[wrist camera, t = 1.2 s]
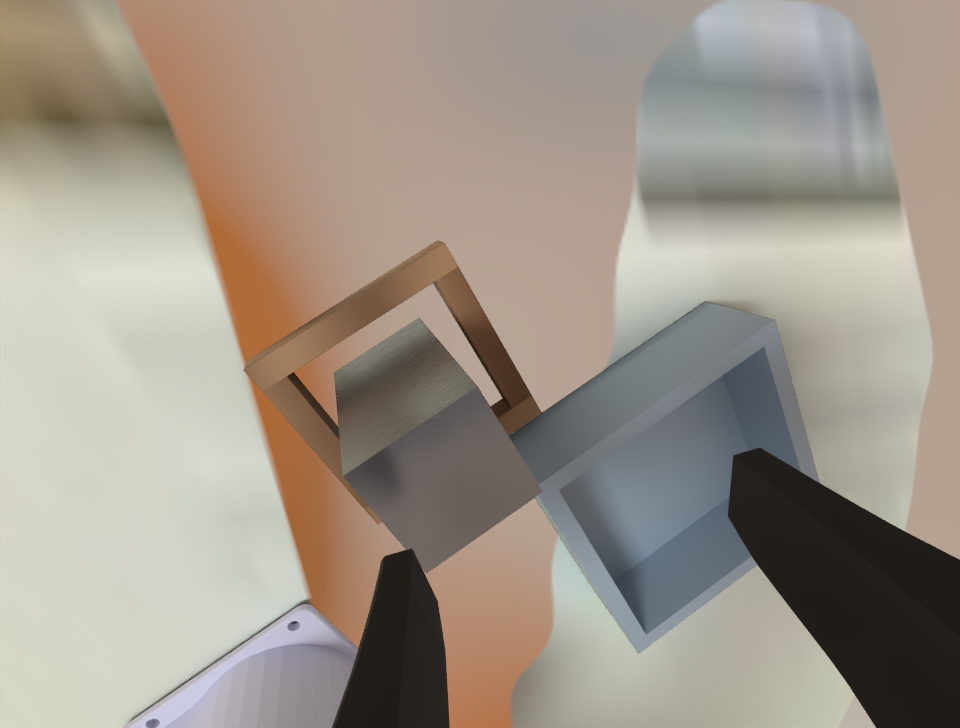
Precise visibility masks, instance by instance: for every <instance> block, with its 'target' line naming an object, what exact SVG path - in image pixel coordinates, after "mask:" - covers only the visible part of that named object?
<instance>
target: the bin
mask: <svg viewBox="0 0 960 728" xmlns="http://www.w3.org/2000/svg"><path fill="white" fill-rule="evenodd" d="M509 438H510V439H511V441H512V443H513V444H514V446H515V447H516V449H517V451H518V452H519V454H520V455H521V457H522V459H523V460H524V462H525V463H526V465H527V467H528V468H529V470H530V471H531V473H532V475H533V476H534V478H535V479H536V481H537V483H538V484H539V486H540V487H541V489H542V491H543V492H542V493H541V494H539V495H538V496H536V497H535V499H536V500H537V502H538V503H539V505H540V507H541V508H542V510H543V511H544V513H545V514H546V516H547V517H548V519H549V520H550V522H551V524H552V525H553V527H554V529H555V530H556V532H557V533H558V535H559V536H560V538H561V539H562V541H563V543H564V544H565V546H566V547H567V549H568V550H569V552H570V553H571V555H572V557H573V558H574V560H575V561H576V563H577V564H578V566H579V568H580V569H581V571H582V572H583V574H584V575H585V577H586V578H587V580H588V582H589V583H590V585H591V586H592V588H593V589H594V591H595V593H596V594H597V595H598V597H599V598H600V600H601V601H602V603H603V604H604V605H605V607H606V608H607V610H608V611H609V613H610V614H611V615H612V617H613V618H614V620H615V621H616V623H617V624H618V625H619V627H620V628H621V630H622V631H623V633H624V634H625V635H626V637H627V638H628V640H629V641H630V643H631V644H632V645H633V647H634V648H635V650H636V651H637V652H638V654H639V653H640V652H642V651H643V650H644V649H646V648H647V647H648V646H650V645H651V644H652V643H654V642H655V641H656V640H658V639H659V638H660V637H662V636H663V635H664V634H666V633H667V632H668V631H670V630H671V629H672V628H674V627H675V626H676V625H678V624H679V623H680V622H682V621H683V620H684V619H686V618H687V617H688V616H690V615H691V614H692V613H694V612H695V611H696V610H698V609H699V608H700V607H702V606H703V605H704V604H706V603H707V602H708V601H710V600H711V599H712V598H714V597H715V596H716V595H718V594H719V593H720V592H722V591H723V590H724V589H726V588H727V587H728V586H730V585H731V584H732V583H734V582H735V581H736V580H738V579H739V578H740V577H742V576H743V575H744V574H746V573H747V572H748V571H750V570H751V569H752V568H754V567H755V566H756V565H757V563H756V562H755V561H754V559H753V558H752V556H751V554H750V553H749V551H748V550H747V548H746V546H745V545H744V543H743V541H742V540H741V538H740V536H739V535H738V533H737V531H736V530H735V528H734V526H733V525H732V523H731V521H730V519H729V518H728V506H729V496H730V485H731V475H732V464H733V455H736V454H739V453H743V452H746V451H749V450H753V449H756V448H762V449H764V450H765V451H767V452H769V453H770V454H772V455H774V456H775V457H777V458H779V459H780V460H782V461H784V462H785V463H787V464H789V465H790V466H792V467H794V468H795V469H797V470H799V471H800V472H802V473H804V474H805V475H807V476H809V477H810V478H812V479H814V480H815V481H817V482H819V479H818V475H817V472H816V468H815V464H814V461H813V457H812V453H811V450H810V446H809V442H808V439H807V435H806V431H805V428H804V424H803V420H802V417H801V413H800V409H799V406H798V402H797V399H796V395H795V391H794V388H793V384H792V380H791V377H790V373H789V369H788V366H787V362H786V358H785V355H784V351H783V347H782V344H781V340H780V336H779V333H778V329H777V325H776V322H775V320H774V319H770V318H766V317H762V316H758V315H755V314H751V313H747V312H743V311H739V310H736V309H732V308H728V307H724V306H721V305H717V304H713V303H709V302H704V303H702V304H701V305H699V306H698V307H696V308H695V309H693V310H692V311H690V312H689V313H688V314H686V315H685V316H683V317H682V318H680V319H679V320H677V321H676V322H674V323H673V324H671V325H670V326H668V327H667V328H666V329H664V330H663V331H661V332H660V333H658V334H657V335H655V336H654V337H652V338H651V339H649V340H648V341H646V342H645V343H644V344H642V345H641V346H639V347H638V348H636V349H635V350H633V351H632V352H630V353H629V354H627V355H626V356H625V357H623V358H622V359H620V360H619V361H617V362H616V363H614V364H613V365H611V366H610V367H608V368H607V369H605V370H604V371H603V372H601V373H600V374H598V375H597V376H595V377H594V378H592V379H591V380H589V381H588V382H586V383H585V384H583V385H582V386H581V387H579V388H578V389H576V390H575V391H573V392H572V393H570V394H569V395H567V396H566V397H564V398H563V399H562V400H560V401H559V402H557V403H556V404H554V405H553V406H552V407H550V408H548V409H547V410H545V411H544V412H542V413H541V414H540V415H538V416H537V417H535V418H534V419H532V420H531V421H529V422H528V423H526V424H525V425H523V426H522V427H520V428H519V429H518V430H516V431H515V432H513V433H512V434H510V435H509Z"/></svg>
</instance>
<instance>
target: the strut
mask: <svg viewBox="0 0 960 728" xmlns="http://www.w3.org/2000/svg"><path fill="white" fill-rule="evenodd" d="M334 377H335V389H336V399H337V400H336V401H337V412H338V425H339V437H340V448H341V460H342V472H343V477H344V478H345V479H346V480H347V482H348V483H349V484H350V485H351V486H352V487H353V488H354V490H355V491H356V492H357V493H358V494H359V495H360V497H361V498H362V499H363V500H364V501H365V502H366V504H367V505H368V506H369V507H370V508H371V509H372V511H373V512H374V513H375V514H376V515H377V516H378V517H379V519H380V520H381V521H382V522H383V523H384V524H385V526H387V528H388V529H389V530H390V531H391V532H392V534H393V535H394V536H395V537H396V538H397V539H398V541H399V542H400V543H401V544H402V545H403V546H404V548H405V549H406V550H408V549H411V548H412V549H413V551H414V553H415V555H416V557H417V559H418V561H419V563H420V565H421V567H422V569H423V570H424V571H425V572H426V573H428V572H429V571H431V570H432V569H433V568H435V567H436V566H438V565H439V564H440V563H442V562H443V561H445V560H446V559H447V558H449V557H451V556H452V555H453V554H455V553H456V552H458V551H459V550H460V549H462V548H463V547H465V546H466V545H468V544H469V543H470V542H472V541H473V540H475V539H476V538H478V537H479V536H480V535H482V534H483V533H485V532H486V531H488V530H489V529H490V528H492V527H493V526H495V525H496V524H498V523H499V522H501V521H502V520H503V519H505V518H506V517H508V516H509V515H511V514H512V513H513V512H515V511H516V510H518V509H519V508H521V507H522V506H523V505H525V504H526V503H528V502H529V501H531V500H532V499H533V498H535V497H536V496H538V495H539V494H541V493H542V492H543V491H542V489H541V487H540V486H539V484H538V483H537V481H536V479H535V478H534V476H533V475H532V473H531V471H530V470H529V468H528V467H527V465H526V463H525V462H524V460H523V459H522V457H521V455H520V454H519V452H518V451H517V449H516V447H515V446H514V444H513V443H512V441H511V439H510V438H509V436H508V435H507V433H506V431H505V430H504V428H503V427H502V425H501V423H500V422H499V420H498V419H497V417H496V415H495V414H494V412H493V411H492V409H491V407H490V406H489V404H488V403H487V401H486V399H485V398H484V396H483V395H482V393H481V391H480V390H479V388H478V387H477V386H476V384H475V383H474V382H473V381H472V380H471V378H470V377H469V376H468V375H467V374H466V372H465V371H464V370H463V369H462V368H461V367H460V365H459V364H458V363H457V362H456V361H455V359H454V358H453V357H452V356H451V355H450V353H449V352H448V351H447V350H446V349H445V348H444V346H443V345H442V344H441V343H440V342H439V340H438V339H437V338H436V337H435V336H434V335H433V333H432V332H431V331H430V330H429V329H428V327H427V326H426V325H425V324H424V323H423V321H422V320H421V319H420V318H418V319H416V320H415V321H413V322H412V323H410V324H409V325H407V326H406V327H404V328H402V329H401V330H399V331H398V332H396V333H395V334H393V335H392V336H390V337H389V338H387V339H385V340H384V341H382V342H381V343H379V344H378V345H376V346H375V347H373V348H371V349H370V350H368V351H367V352H365V353H364V354H362V355H361V356H359V357H358V358H356V359H354V360H353V361H351V362H350V363H348V364H347V365H345V366H344V367H342V368H341V369H339V370H337V371H336V372H334Z"/></svg>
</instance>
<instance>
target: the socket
mask: <svg viewBox="0 0 960 728" xmlns="http://www.w3.org/2000/svg"><path fill="white" fill-rule="evenodd" d="M432 283H433V284H434V285H435V287H436V288H437V290H438V292H439V293H440V295H441V297H442V298H443V300H444V302H445V303H446V305H447V307H448V308H449V310H450V311H451V313H452V315H453V317H454V318H455V320H456V322H457V323H458V325H459V327H460V328H461V330H462V331H463V333H464V335H465V336H466V338H467V340H468V341H469V343H470V345H471V346H472V348H473V350H474V351H475V353H476V355H477V356H478V358H479V359H480V361H481V363H482V365H483V366H484V368H485V369H486V371H487V373H488V374H489V376H490V377H491V379H492V381H493V383H494V384H495V386H496V388H497V389H498V391H499V393H500V394H501V396H502V398H503V399H501V400H500V401H498V402H497V403H495V404H494V405H492V406H491V409H492V411H493V412H494V414H495V415H496V417H497V419H498V420H499V422H500V423H501V425H502V427H503V428H504V430H505V431H506V433H507V435H510V434H511V433H513V432H514V431H516V430H517V429H519V428H520V427H522V426H523V425H525V424H526V423H527V422H529V421H530V420H532V419H533V418H535V417H536V416H538V415H539V414H541V411H540V409H539V407H538V406H537V404H536V402H535V400H534V399H533V397H532V395H531V393H530V392H529V390H528V388H527V386H526V385H525V383H524V381H523V379H522V378H521V376H520V374H519V372H518V371H517V369H516V367H515V365H514V364H513V362H512V360H511V358H510V357H509V355H508V353H507V351H506V349H505V348H504V346H503V344H502V342H501V341H500V339H499V337H498V335H497V334H496V332H495V330H494V328H493V327H492V325H491V323H490V322H489V320H488V318H487V316H486V314H485V313H484V311H483V309H482V307H481V306H480V304H479V302H478V301H477V299H476V297H475V295H474V293H473V292H472V290H471V288H470V287H469V285H468V283H467V281H466V279H465V278H464V276H463V274H462V272H461V271H460V269H459V267H458V265H457V264H456V262H455V260H454V258H453V257H452V255H451V253H450V251H449V250H448V248H447V246H446V244H445V243H443V242H440V241H436V242H434V243H433V244H431V245H430V246H428V247H426V248H425V249H423V250H422V251H420V252H419V253H417V254H415V255H414V256H412V257H411V258H409V259H408V260H406V261H404V262H403V263H401V264H400V265H398V266H396V267H395V268H393V269H392V270H390V271H388V272H387V273H385V274H384V275H382V276H380V277H379V278H377V279H376V280H374V281H373V282H371V283H369V284H368V285H366V286H365V287H363V288H362V289H360V290H358V291H357V292H355V293H354V294H352V295H350V296H349V297H347V298H346V299H344V300H343V301H341V302H339V303H338V304H336V305H335V306H333V307H332V308H330V309H328V310H327V311H325V312H324V313H322V314H320V315H319V316H317V317H316V318H314V319H312V320H311V321H309V322H308V323H306V324H305V325H303V326H301V327H300V328H298V329H297V330H295V331H293V332H292V333H290V334H289V335H287V336H285V337H284V338H282V339H281V340H279V341H277V342H276V343H274V344H273V345H271V346H270V347H268V348H266V349H265V350H263V351H262V352H260V353H258V354H257V355H255V356H254V357H252V358H251V359H249V360H248V362H247V364H246V366H245V368H244V371H245V372H246V374H247V375H248V376H249V377H250V378H251V379H252V380H253V382H254V383H255V384H256V385H257V386H258V387H259V388H260V390H261V391H262V392H263V393H264V394H265V395H266V397H267V398H268V399H269V400H270V401H271V402H272V403H273V404H274V406H275V407H276V408H277V409H278V410H279V411H280V413H281V414H282V415H283V416H284V417H285V418H286V420H287V421H288V422H289V423H290V424H291V425H292V426H293V428H294V429H295V430H296V431H297V432H298V433H299V434H300V436H301V437H302V438H303V439H304V440H305V441H306V443H307V444H308V445H309V446H310V447H311V448H312V449H313V450H314V452H315V453H316V454H317V455H318V456H319V457H320V459H321V460H322V461H323V462H324V463H325V464H326V465H327V467H328V468H329V469H330V470H331V471H332V472H333V474H334V475H335V476H336V477H337V478H338V479H339V480H340V482H341V483H342V484H343V485H344V486H345V487H346V488H347V490H348V491H349V492H350V493H351V494H352V495H353V496H354V498H355V499H356V500H357V501H358V502H359V503H360V505H361V506H362V507H363V508H364V509H365V510H366V511H367V512H368V514H369V515H370V516H371V517H372V518H373V519H374V520H375V522H376V523H377V524H379V523H381V522H382V521H381V520H380V519H379V517H378V516H377V515H376V514H375V513H374V512H373V511H372V509H371V508H370V507H369V506H368V505H367V504H366V502H365V501H364V500H363V499H362V498H361V497H360V495H359V494H358V493H357V492H356V491H355V490H354V488H353V487H352V486H351V485H350V484H349V483H348V482H347V480H346V479H345V478H344V477H343V472H342V460H341V448H340V437H339V427H338V426H337V425H336V424H335V423H334V421H333V420H332V419H331V418H330V416H329V415H328V414H327V413H326V411H324V409H323V408H322V407H321V405H320V404H319V403H318V402H317V400H316V399H315V398H314V397H313V396H312V395H311V393H310V392H309V391H308V389H307V388H306V387H305V386H304V385H303V383H302V382H301V381H300V380H299V378H298V377H297V376H296V375H295V373H294V371H296V370H297V369H299V368H300V367H302V366H304V365H305V364H307V363H308V362H310V361H311V360H313V359H314V358H316V357H318V356H319V355H321V354H322V353H324V352H325V351H327V350H328V349H330V348H332V347H333V346H335V345H336V344H338V343H339V342H341V341H343V340H344V339H346V338H347V337H349V336H350V335H352V334H353V333H355V332H357V331H358V330H360V329H361V328H363V327H365V326H366V325H368V324H369V323H371V322H372V321H374V320H375V319H377V318H379V317H380V316H382V315H383V314H385V313H386V312H388V311H389V310H391V309H393V308H394V307H396V306H397V305H399V304H400V303H402V302H403V301H405V300H407V299H408V298H410V297H411V296H413V295H415V294H416V293H418V292H419V291H421V290H422V289H424V288H425V287H427V286H428V285H430V284H432Z"/></svg>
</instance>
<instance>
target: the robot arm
mask: <svg viewBox="0 0 960 728" xmlns="http://www.w3.org/2000/svg"><path fill="white" fill-rule="evenodd" d="M728 518H729V519H730V521H731V523H732V525H733V526H734V528H735V530H736V531H737V533H738V535H739V536H740V538H741V540H742V541H743V543H744V545H745V546H746V548H747V550H748V551H749V553H750V554H751V556H752V558H753V559H754V561H755V562H756V563H757V565H758V566H759V567H760V569H761V570H762V571H763V573H764V574H765V575H766V577H767V578H768V579H769V581H770V582H771V583H772V584H773V586H774V587H775V588H776V590H777V591H778V592H779V594H780V595H781V596H782V598H783V599H784V600H785V601H786V603H787V604H788V605H789V607H790V608H791V609H792V610H793V612H794V613H795V614H796V616H797V617H798V618H799V620H800V621H801V622H802V623H803V625H804V626H805V627H806V629H807V630H808V631H809V632H810V634H811V635H812V636H813V638H814V639H815V640H816V642H817V643H818V644H819V645H820V647H821V648H822V649H823V651H824V652H825V653H826V655H827V656H828V657H829V658H830V660H831V661H832V662H833V664H834V665H835V667H836V668H837V669H838V671H839V672H840V674H841V675H842V676H843V678H844V679H845V681H846V682H847V683H848V685H849V686H850V688H851V689H852V691H853V693H854V694H855V696H856V697H857V699H858V700H859V702H860V703H861V705H862V706H863V708H864V709H865V711H866V713H867V714H868V716H869V717H870V719H871V720H872V722H873V723H874V725H875V726H876V728H960V560H959V559H957V558H955V557H953V556H951V555H949V554H947V553H945V552H943V551H941V550H940V549H938V548H936V547H934V546H932V545H930V544H928V543H926V542H924V541H922V540H920V539H918V538H916V537H914V536H912V535H910V534H909V533H907V532H905V531H903V530H901V529H899V528H897V527H896V526H894V525H892V524H890V523H888V522H886V521H885V520H883V519H881V518H879V517H878V516H876V515H874V514H872V513H870V512H869V511H867V510H865V509H863V508H862V507H860V506H858V505H856V504H855V503H853V502H851V501H849V500H848V499H846V498H844V497H842V496H841V495H839V494H837V493H836V492H834V491H832V490H830V489H829V488H827V487H825V486H824V485H822V484H820V483H819V482H817V481H815V480H814V479H812V478H810V477H809V476H807V475H805V474H804V473H802V472H800V471H799V470H797V469H795V468H794V467H792V466H790V465H789V464H787V463H785V462H784V461H782V460H780V459H779V458H777V457H775V456H774V455H772V454H770V453H769V452H767V451H765V450H764V449H762V448H756V449H753V450H749V451H746V452H743V453H739V454H736V455H733V464H732V475H731V485H730V496H729V506H728ZM293 621H297V622H298V623H296V624H291V623H290V622H293ZM153 719H154V720H153ZM123 728H449V710H448V691H447V673H446V656H445V646H444V640H443V632H442V626H441V620H440V614H439V607H438V601H437V599H436V597H435V595H434V593H433V591H432V588H431V587H430V584H429V582H428V580H427V578H426V576H425V574H424V572H423V570H422V568H421V565H420V563H419V561H418V559H417V557H416V555H415V553H414V551H413V549H412V548H411V549H408V550H404V551H401V552H398V553H394V554H391V555H387V556H385V557H384V558H383V559H382V561H381V565H380V570H379V575H378V579H377V583H376V587H375V592H374V596H373V600H372V604H371V607H370V611H369V614H368V618H367V622H366V625H365V629H364V632H363V636H362V639H361V642H360V645H359V649H358V648H357V647H356V646H355V645H354V644H353V643H352V642H351V641H350V640H349V639H347V637H345V636H344V635H343V634H342V633H341V632H340V631H339V630H338V629H337V628H336V627H335V626H334V625H333V624H331V623H330V622H329V621H328V620H327V619H326V618H325V617H324V616H323V615H322V614H321V613H320V612H319V611H318V610H317V609H315V608H314V607H313V606H312V605H309V604H303V605H300V606H298V607H296V608H295V609H293V610H292V611H290V612H289V613H287V614H286V615H284V616H283V617H282V618H280V619H279V620H277V621H276V622H274V623H273V624H271V625H270V626H268V627H267V628H266V629H264V630H263V631H261V632H260V633H258V634H257V635H255V636H254V637H252V638H251V639H250V640H248V641H247V642H245V643H244V644H242V645H241V646H239V647H238V648H236V649H235V650H234V651H232V652H231V653H229V654H228V655H226V656H225V657H223V658H222V659H220V660H219V661H218V662H216V663H215V664H213V665H212V666H210V667H209V668H207V669H206V670H205V671H203V672H202V673H200V674H199V675H197V676H196V677H194V678H193V679H191V680H190V681H189V682H187V683H186V684H184V685H183V686H181V687H180V688H178V689H177V690H175V691H174V692H173V693H171V694H170V695H168V696H167V697H165V698H164V699H162V700H161V701H159V702H158V703H157V704H155V705H154V706H152V707H151V708H149V709H148V710H146V711H145V712H143V713H142V714H141V715H139V716H138V717H136V718H135V719H133V720H132V721H130V722H129V723H127V724H126V725H125V726H124V727H123Z"/></svg>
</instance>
